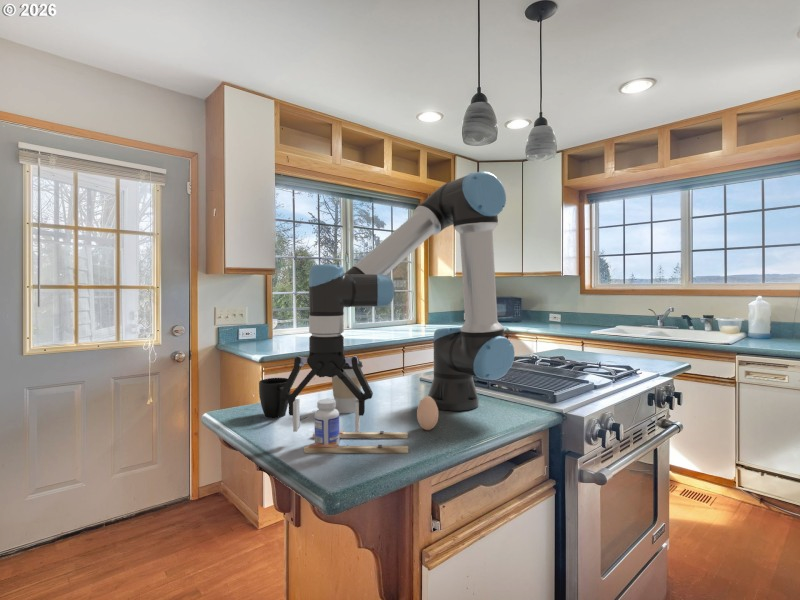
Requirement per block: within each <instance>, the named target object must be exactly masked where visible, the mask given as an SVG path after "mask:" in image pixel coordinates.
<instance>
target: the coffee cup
mask: <svg viewBox="0 0 800 600" xmlns="http://www.w3.org/2000/svg"><path fill="white" fill-rule="evenodd" d="M347 357H348V356H345V358H347ZM358 362H359V366H360V368H361V370H362V371H363V366H364V365H363V362H362V360H360V359H359V357H358ZM342 368H343V370H344V371H345V372H346V374H347V375H348V376H349V377H350V379H351V380H352V381H353V382H354V383H355V384H356V386H357V387H358V388H359V389H360V390H361V391H362V387H361V385H360V383H359V381H358V379H357V377H356V375H355V373H354V371H353V368H352V367H350V366H349V364H348V363H345V364H344V366H343V367H342ZM331 384H332V394H333V399H334V400H335V401H336V407H335V409H337V410H338V412H339V414H351V413H355V401H356V399H357V398H356V397H355V396H354V394H353V393H352V392H351V391H350V390H349V388H348V387H347V386H346V385H345V384H344V383H343V381H342V380H341V379H339V378H338V376H337V375H336V376H334V377H331Z"/></svg>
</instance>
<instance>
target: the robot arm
mask: <svg viewBox="0 0 800 600" xmlns="http://www.w3.org/2000/svg"><path fill="white" fill-rule="evenodd" d="M505 189H506V188H505V187H504V185H503V183H502V182H501V180H500V179H498V177H497V176H496V175H495V174H494V173H492V172H489V171H477V172H472V173H468V174H467V175H465V176H462V177H459V178H456V179H454V180H451V181H449V182H446V183H444V184H443V185H440V187H438V188H437V189H436V190H435V191H434V192H433V193H431V194H430V195H429V196H428V197H427V198H425V199H424V201H423V202H422V203H420V204H419V205H418V206H417V207H416V208H415V210H414V213H413V215H412V216H410V218H408V219H407V220H406V221H405V222H403V224H401V225H400V226H399V227H398V228H396V229H395V230H394V231H392V233H390V234H389V235H388V236H386V238H385V239H383V240H382V241H381V242H380V243H379V244H377V245H376V246H375V247H374V248H373V249H371V250H370V251H369V252H368V253H367V254H366V255H365V256H363V257H362V258H361V259H360V260H359V261H357V262H356V264H354V265H353V266H352V267H350V268H349V269H348V270H347V271H346V272H345V271H344V266H343V265H341V264H331V263H330V264H328V263H327V264H326V263H325V264H320V263H319V264H313V265H311V267H310V269H309V276H308V285H307V287H308V303H309V311H308V312H309V315H308V330H309V331H308V333H309V334H311V335H309V339H308V343H309V344H308V346H309V348H308V349H309V350H308V351H309V353H308V357H307V356H306V357H305V356H302V355H297V356H296V357H295V358H294V361H293V368H292V370H291V371H290V374H289V375H288V378H287V379H288V380H287V382H286V384H285V386H284V388H283V390H282V392H281V394H280V398H281V399H286V400H288V402H289V403H288V415H289V416H290V417H291V416H292V418H293V419H292V427H293V428H292V429H293V430H292V432H293V433H294V432H296V433H297V432H298V431H299V430H300V427H301V426H300V420H301V419H300V417H301V416H300V415H301V413H300V410H301V409H300V398H297V397H298V395H299V394H301V392H302V391H303V390H304V389H305V388H306V386H307V385H308V384H309V383H310V382H311V380H313V378H314V377H315V376H317V377H318V378H325V377H327V378H332V377H334V376H336V375H337V376H338V378H339V379H341V380H342V381H343V383H344V384H345V385H346V386H347V387H348V388H349V390H350V391H351V392H352V393H353V394H354V396H355V397H356V398H357V399H356V401H355V412H354V430H355V431H354V432H360V427H361V424H360V423H361V421H360V419H361V417H363V416H364V415H365V412H366V411H365V407H366V405H365V403H366V402H365V401H367V400H371V399H372V398H373V394H374V393H373V391H372V388H371V387H370V384H369V383H368V381H367V379H366V376H365V375H364V371H363V369H362V370H361V368H360V366H359V362H358V358H359V357H358V356H357V354H356V355H353V356H346V355H345V353H344V351H345V348H344V347H345V345H344V344H345V341H344V340H345V339H344V338H345V337H344V335H343V333H344V331H345V329H344V325H345V324H344V323H345V322H344V321H345V320H344V318H345V317H344V315H345V312H344V308H359V307H360V308H370V307H371V308H373V307H375V308H379V307H388V306H389V305H390V304H391V303H392V301H393V300H394V296H395V286H394V281H393V279H392V278H391V277H390V276H389V275H388V274H389V273H391V271H392V270H394V269H395V268H396V267H397V266H398V265H400V263H401V262H403V261H404V260H405V259H406V258H407V257H408V256H410V254H412V253H413V252H414V251H415V250H416V249H418V248H419V247H420V245H422V244H423V243H424V242H425V241H426V240H428V239H429V238H430V237H431V236H432V235H433V236H437V235H438V234H440V233H441V231H443V230H445V229H446V228H448V227H450V226H453V229H454V230H455V231H456V232H457V233H458V234H459V240H460V241H459V243H460V258H461V275H462V289H463V290H462V291H463V306H464V324H463V325H462V326H458V327H457V326H456V327H455V326H454V327H445V328H443V327H442V328H437V329H435V331H434V333H433V340H432V343H433V378H432V382H431V385H430V388H429V391H428V394H427V396H429V397H431V398H433V399H434V401H435V402H436V405H437V408H438V410H443V411H451V412H452V411H453V412H455V411H460V412H461V411H470V410H473V409H476V408H478V407H479V395H478V394H479V393H478V391H477V388H476V386H475V385H476V384H475V381H474V377H477V378H479V379H481V380H489V381H495V380H499V379H501V378H502V377H504V376H505V375H507V373H508V372H509V370H511V367H512V366H513V364H514V360H515V347H514V344H513V343H512V342H511V340H510V339H508V338H507V337H505V328H504V325H502V324H501V323H500V322H499V320H498V305H497V290H496V289H497V288H496V272H495V271H496V270H495V269H496V268H495V253H494V250H495V249H494V236H493V232H494V230H495V228H496V227H497V226H498V225H499V222H498V221H499V220H498V215H500V214H501V212H502V211H503V209H504V208H505V206H506V204H507V203H506V201H507V194H506V190H505ZM345 357H347V358H345ZM306 363H307V365H308V366H309V368H310V369H311V370H310V371H309V373H308V374H307V375H306V376H305V377H304V378H303V379H302V381H301V382H300V383H299V384H298V385H297V387H295V389H294V390H293V392H291V389H292V387H293V385H294V383H295V381H296V379H297V377H298V375H299V374H300V371H301V369H302V367H304V366H305V364H306ZM345 363H348V364H349V366H350V367H352V368H353V371H354V373H355V375H356V377H357V379H358V381H359V383H360V385H361V390H360V389H359V388H358V387H357V386H356V384H355V383H354V382H353V381H352V380H351V379H350V377H349V376H348V375H347V374H346V372H345V371H344V370H343V368H342V367H343V366H344V364H345ZM289 391H290V393H289Z"/></svg>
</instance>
